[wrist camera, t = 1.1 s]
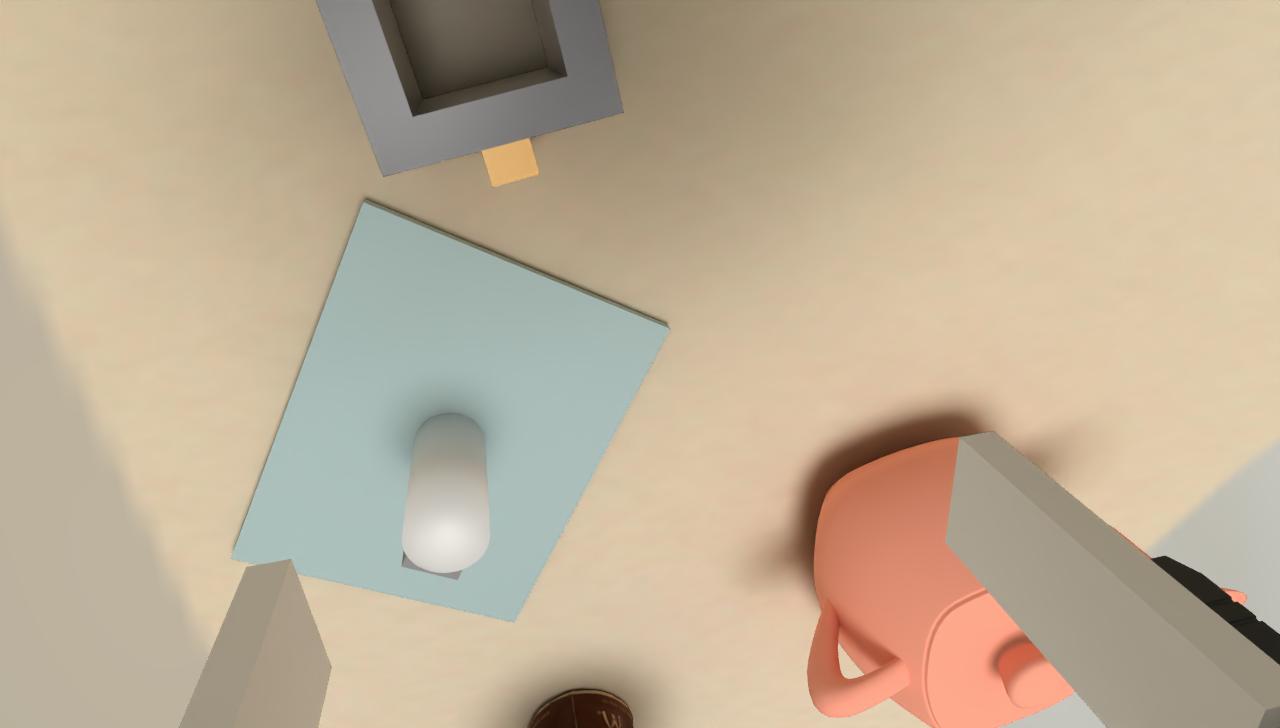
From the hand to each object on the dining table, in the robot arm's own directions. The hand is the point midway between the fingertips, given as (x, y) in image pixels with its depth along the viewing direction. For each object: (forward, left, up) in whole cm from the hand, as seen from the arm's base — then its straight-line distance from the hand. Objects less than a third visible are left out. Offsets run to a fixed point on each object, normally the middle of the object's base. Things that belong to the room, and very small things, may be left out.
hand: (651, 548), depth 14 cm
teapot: (+5, +25, -20) cm, 32 cm away
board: (+9, -1, -20) cm, 22 cm away
